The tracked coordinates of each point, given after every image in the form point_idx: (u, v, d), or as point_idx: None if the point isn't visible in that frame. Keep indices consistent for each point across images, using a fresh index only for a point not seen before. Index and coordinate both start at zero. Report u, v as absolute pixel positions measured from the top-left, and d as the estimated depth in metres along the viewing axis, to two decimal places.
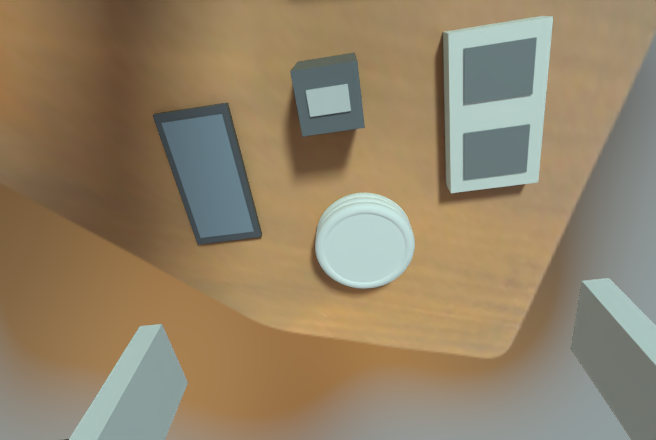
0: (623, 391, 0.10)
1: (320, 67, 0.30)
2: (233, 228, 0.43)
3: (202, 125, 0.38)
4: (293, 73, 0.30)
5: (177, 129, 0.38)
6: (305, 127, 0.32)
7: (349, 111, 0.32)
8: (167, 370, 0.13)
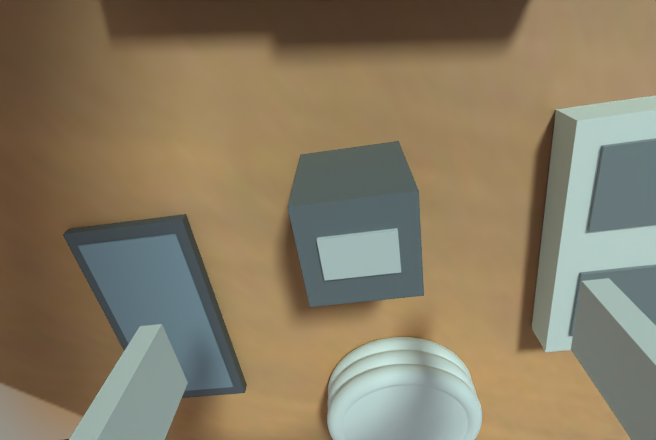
0: (623, 391, 0.10)
1: (345, 201, 0.16)
2: (202, 382, 0.28)
3: (144, 250, 0.23)
4: (293, 210, 0.16)
5: (104, 253, 0.23)
6: (315, 294, 0.18)
7: (399, 272, 0.17)
8: (167, 370, 0.13)
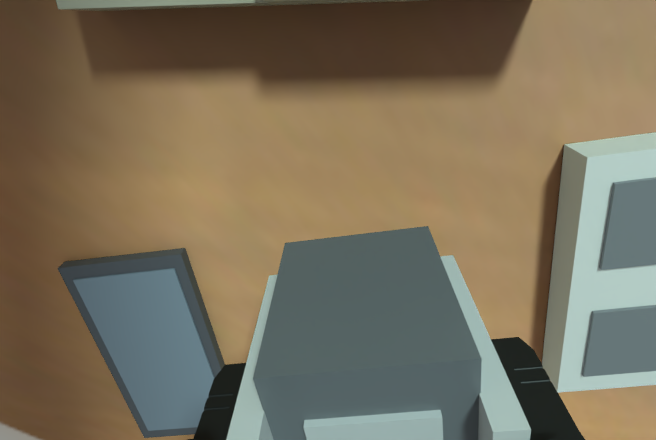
0: None
1: (353, 370, 0.09)
2: (198, 420, 0.27)
3: (142, 284, 0.22)
4: (263, 383, 0.09)
5: (100, 288, 0.23)
6: None
7: None
8: None
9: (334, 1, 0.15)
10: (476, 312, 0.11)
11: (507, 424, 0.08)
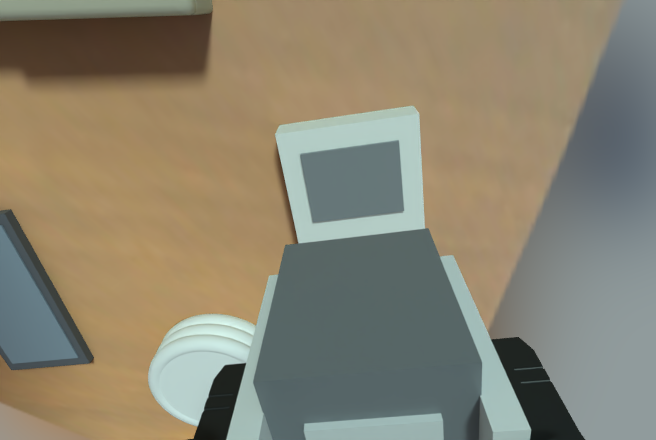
0: None
1: (353, 374, 0.09)
2: (51, 354, 0.33)
3: None
4: (263, 387, 0.09)
5: None
6: None
7: None
8: None
9: None
10: (476, 312, 0.11)
11: (507, 424, 0.08)
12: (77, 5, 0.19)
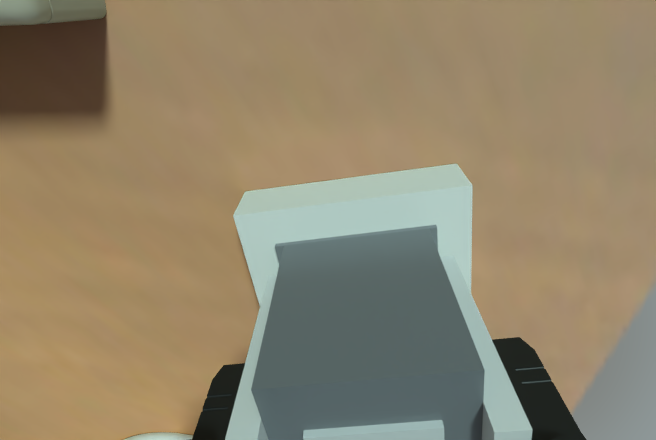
0: None
1: (353, 381, 0.09)
2: None
3: None
4: (261, 394, 0.09)
5: None
6: None
7: None
8: None
9: None
10: (477, 312, 0.11)
11: (508, 424, 0.08)
12: None
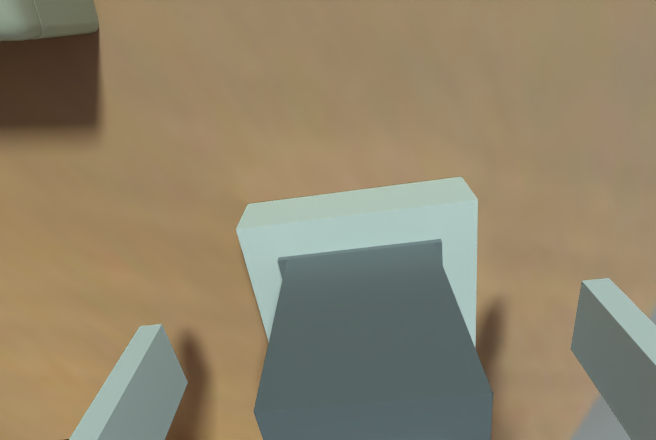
0: (623, 392, 0.10)
1: (358, 403, 0.09)
2: None
3: None
4: (264, 416, 0.09)
5: None
6: None
7: None
8: (167, 370, 0.13)
9: None
10: None
11: None
12: None
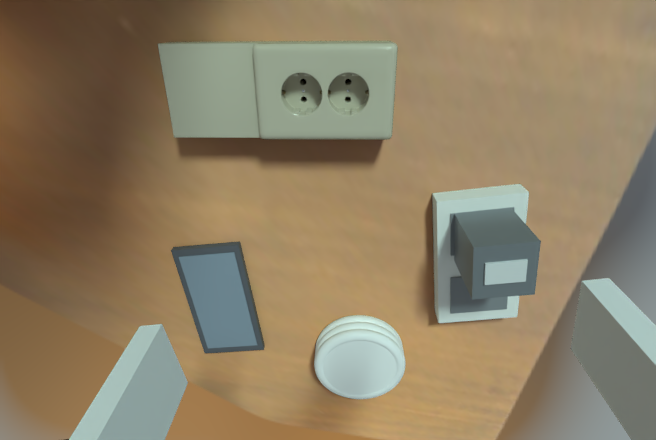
0: (623, 391, 0.10)
1: (503, 245, 0.31)
2: (238, 342, 0.47)
3: (215, 260, 0.42)
4: (476, 249, 0.32)
5: (192, 261, 0.42)
6: (476, 292, 0.33)
7: (524, 281, 0.33)
8: (167, 370, 0.13)
9: None
10: None
11: None
12: (327, 134, 0.33)
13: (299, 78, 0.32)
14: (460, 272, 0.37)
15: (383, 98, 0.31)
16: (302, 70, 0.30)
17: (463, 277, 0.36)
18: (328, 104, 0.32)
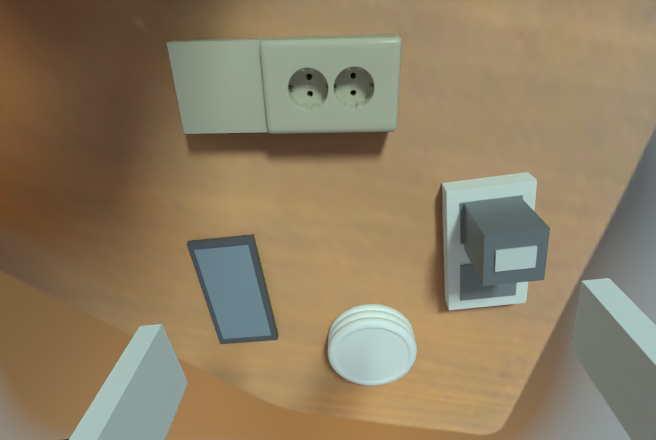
0: (623, 392, 0.10)
1: (513, 232, 0.32)
2: (252, 332, 0.48)
3: (230, 253, 0.43)
4: (486, 237, 0.32)
5: (207, 255, 0.43)
6: (487, 279, 0.34)
7: (534, 267, 0.33)
8: (167, 370, 0.13)
9: None
10: None
11: None
12: (334, 127, 0.33)
13: (305, 73, 0.33)
14: (470, 260, 0.38)
15: (388, 91, 0.32)
16: (308, 65, 0.31)
17: (473, 264, 0.37)
18: (334, 98, 0.32)
